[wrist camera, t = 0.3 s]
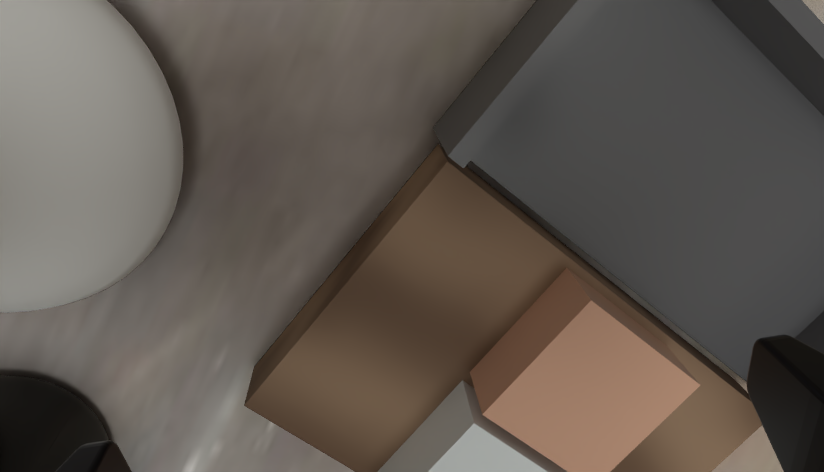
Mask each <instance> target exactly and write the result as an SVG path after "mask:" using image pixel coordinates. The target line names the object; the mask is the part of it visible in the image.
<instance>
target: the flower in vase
mask: <svg viewBox="0 0 824 472" xmlns="http://www.w3.org/2000/svg"><path fill="white" fill-rule="evenodd" d="M182 174H183V141H182V134H181V127H180V120H179V117H178V113H177V110H176V106H175V103H174V99H173V96H172V94H171V91H170V89H169V87H168V84H167V82H166V80H165V77H164V75H163V73H162V71H161V69H160V67H159V66H158V64H157V62H156V60H155V59H154V57H153V55H152V53H151V52H150V50H149V48H148V47H147V46H146V44H145V43H144V42H143V40H142V39H141V38H140V36H139V35H138V33H137V32H136V31H135V29H134V28H133V27H132V26H131V25H130V23H129V22H128V21H127V20H126V19H125V18H124V17H123V16H122V15H121V14H120V13H119V12H118V11H117V10H116V9H115V8H114V6H113V5H111V4H110V3H109V2H108V1H107V0H0V312H7V313H9V312H27V311H35V310H41V309H46V308H52V307H57V306H61V305H66V304H69V303H72V302H76V301H79V300H82V299H85V298H88V297H90V296H92V295H95V294H97V293H99V292H101V291H103V290H106V289H107V288H109V287H111V286H112V285H114V284H115V283H117V282H119V281H120V280H122V279H123V278H125V277H126V276H127V275H128V274H129V273H131V272H132V271H133V270H134V269H135V268H136V267H138V266H139V265H140V264H141V263H142V262H143V261H144V260H145V258H146V257H147V256H148V255H149V254H150V253H151V252H152V250H153V249H154V248H155V246H156V245H157V243H158V242H159V240H160V239H161V237H162V236H163V234H164V232H165V231H166V229H167V227H168V224H169V222H170V220H171V218H172V216H173V213H174V211H175V208H176V204H177V200H178V197H179V193H180V189H181V182H182Z"/></svg>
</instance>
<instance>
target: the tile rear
mask: <svg viewBox="0 0 824 472" xmlns="http://www.w3.org/2000/svg"><path fill="white" fill-rule="evenodd" d="M378 472H568V471H566V470H565V469H563V468H562V467H560V466H559V465H557V464H556V463H554V462H553V461H551V460H550V459H548V458H547V457H545V456H544V455H542V454H541V453H539V452H538V451H536V450H535V449H533V448H532V447H530V446H529V445H527V444H526V443H524V442H523V441H521V440H520V439H518V438H517V437H515V436H514V435H512V434H511V433H509V432H508V431H506V430H505V429H503V428H502V427H500V426H499V425H497V424H496V423H494V422H493V421H491V420H490V419H488V418H487V417H485V416H484V415H482V412H481V408H480V405H479V402H478V398H477V395H476V392H475V388H473V387H472V386H470V385H469V384H467V383H466V382H464V381H463V380H462V381H461V382H460V383H459V384H458V385H457V386H456V388H455V389H454V390H453V391H452V392H451V393H450V394H449V395H448V396H447V397H446V398H445V399H444V400H443V402H442V403H441V404H440V405H439V406H438V407H437V408H436V409H435V410H434V411H433V412H432V413H431V414H430V416H429V417H428V418H427V419H426V420H425V421H424V422H423V423H422V424H421V425H420V426H419V427H418V428H417V430H416V431H415V432H414V433H413V434H412V435H411V436H410V437H409V438H408V439H407V440H406V441H405V442H404V444H403V445H402V446H401V447H400V448H399V449H398V450H397V451H396V452H395V453H394V454H393V455H392V457H391V458H390V459H389V460H388V461H387V462H386V463H385V464H384V465H383V466H382V467H381V468H380V469H379V471H378Z"/></svg>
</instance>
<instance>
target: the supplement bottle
mask: <svg viewBox="0 0 824 472" xmlns="http://www.w3.org/2000/svg"><path fill="white" fill-rule="evenodd" d="M106 440H109V439H108V436H107V433H106V431H105V429H104V427H103V425H102V423H101V421H100V420H99V419H98V417H97V416H96V414H95V413H94V412H93V411H92V410H91V409H90V408H89V407H88V406H87V405H86V404H85V403H84V402H83V401H82V400H80V399H79V398H78V397H76V396H75V395H74V394H72V393H71V392H69V391H67V390H65V389H63V388H61V387H59V386H57V385H55V384H52V383H49V382H46V381H43V380H40V379H35V378H30V377H23V376H0V472H55V471H56V470H57V469H58V468H59V467H60V466H61V465H62V464H63V463H64V462H65V461H66V460H67V459H68V458H69V457H70V456H71V455H72V454H73V453H74V452H75V451H76V450H77V449H78V448H79V447H80V446H82V445H84V444H87V443H94V442H100V441H106Z"/></svg>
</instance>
